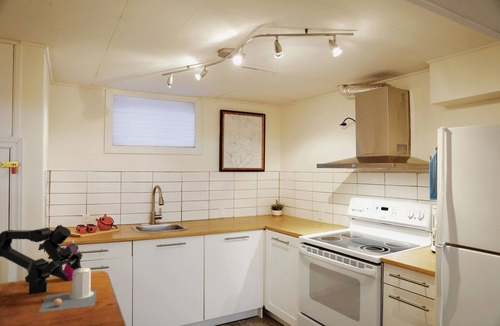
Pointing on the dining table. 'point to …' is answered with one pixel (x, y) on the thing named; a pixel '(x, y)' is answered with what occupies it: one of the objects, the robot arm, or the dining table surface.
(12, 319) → the dining table surface
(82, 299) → the board
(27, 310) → the dining table surface
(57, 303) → the ball
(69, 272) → the pepper mill
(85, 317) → the dining table surface
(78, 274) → the salt shaker
